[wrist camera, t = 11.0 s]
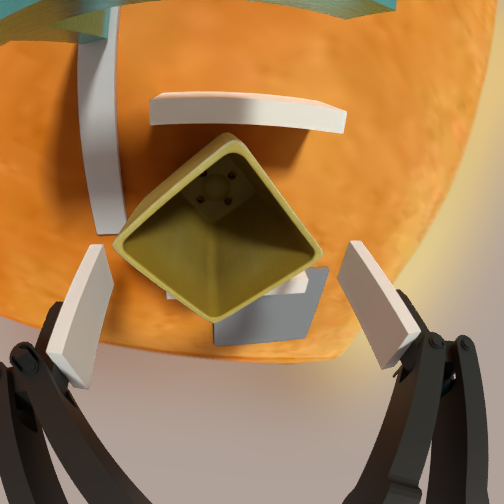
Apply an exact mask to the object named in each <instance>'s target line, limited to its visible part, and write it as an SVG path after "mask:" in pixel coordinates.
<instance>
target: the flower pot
mask: <svg viewBox="0 0 504 504" xmlns="http://www.w3.org/2000/svg"><path fill="white" fill-rule="evenodd" d="M205 170H206V172H207V173H206V175H205V176H201V175H200V174H201V173H203V172H204V171H205ZM230 172H234V173H235V177H234V178H229V176H228V174H229V173H230ZM198 196H202V197H203V198H204V200H203V201H202V202H199V201H197V197H198ZM226 198H231V199H232V201H231V203H229V204H227V203H225V199H226ZM112 246H113V248H114V249H115V250H116V252H117V253H118V254H119V255H120V256H121V257H123V258H124V259H125V260H126V261H128V262H129V263H130V264H131V265H132V266H133V267H135V268H136V269H137V270H138V271H140V272H141V273H142V274H144V275H145V276H146V277H148V278H149V279H150V280H151V281H153V282H154V283H155V284H157V285H158V286H159V287H160V288H162V289H163V290H165V291H166V292H167V293H169V294H170V295H172V296H173V297H174V298H176V299H177V300H178V301H180V302H181V303H182V304H184V305H185V306H187V307H188V308H189V309H191V310H192V311H193V312H195V313H196V314H198V315H199V316H201V317H202V318H204V319H206V320H208V321H210V322H212V323H217V322H219V321H221V320H223V319H225V318H227V317H229V316H230V315H232V314H234V313H235V312H237V311H239V310H240V309H242V308H243V307H245V306H247V305H248V304H250V303H252V302H253V301H255V300H257V299H258V298H260V297H262V296H263V295H265V294H266V293H268V292H270V291H271V290H273V289H275V288H276V287H278V286H280V285H281V284H283V283H285V282H286V281H288V280H290V279H291V278H293V277H295V276H296V275H298V274H300V273H301V272H303V271H304V270H306V269H307V268H309V267H311V266H312V265H313V264H315V263H316V262H317V261H318V260H319V259H320V258H321V257H322V256H323V250H322V249H321V247H320V246H319V245H318V243H317V242H316V241H315V239H314V238H313V237H312V235H311V234H310V233H309V231H308V230H307V229H306V227H305V226H304V225H303V223H302V222H301V221H300V220H299V218H298V217H297V215H296V214H295V213H294V211H293V210H292V209H291V207H290V206H289V204H288V203H287V202H286V200H285V199H284V198H283V196H282V195H281V193H280V192H279V191H278V189H277V188H276V186H275V185H274V184H273V182H272V181H271V179H270V178H269V177H268V175H267V174H266V173H265V171H264V170H263V169H262V167H261V166H260V165H259V163H258V162H257V160H256V159H255V158H254V156H253V155H252V154H251V152H250V151H249V149H248V148H247V147H246V145H245V144H244V143H243V142H242V141H240V140H239V139H238V138H237V137H236V136H235V135H233V134H232V133H229V132H225V133H222V134H220V135H219V136H218V137H216V138H215V139H214V140H212V141H211V142H210V143H209V144H207V145H206V146H205V147H204V148H202V149H201V150H200V151H199V152H198V153H196V154H195V155H194V156H193V157H191V158H190V159H189V160H188V161H187V162H185V163H184V164H183V165H182V166H181V167H180V168H178V169H177V170H176V171H175V172H174V173H172V174H171V175H170V176H169V177H168V178H167V179H165V180H164V181H163V182H162V183H161V184H160V185H158V186H157V187H156V188H155V189H154V190H153V191H151V192H150V193H149V194H148V195H147V196H146V197H145V198H144V199H143V200H142V201H141V202H140V203H139V204H138V206H137V207H136V209H135V210H134V211H133V213H132V214H131V216H130V217H129V219H128V220H127V221H126V223H125V225H124V226H123V227H122V229H121V231H120V232H119V234H118V235H117V237H116V238H115V240H114V242H113V244H112Z"/></svg>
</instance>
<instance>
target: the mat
mask: <svg viewBox="0 0 504 504" xmlns="http://www.w3.org/2000/svg"><path fill="white" fill-rule="evenodd" d="M304 271H305V273H306V275H307V277H308V284H307V287H306V291H305V293H294V294H279V295H263V296H262V297H260V298H258V299H257V300H255V301H253V302H252V303H250V304H248V305H247V306H245V307H243V308H242V309H240V310H239V311H237V312H235V313H234V314H232V315H230V316H229V317H227V318H225V319H223V320H221V321H219V322H217V323H214V344H215V346H229V345H244V344H256V343H268V342H278V341H287V340H296V339H304V338H306V335H307V333H308V330H309V328H310V325H311V322H312V319H313V317H314V314H315V311H316V308H317V306H318V303H319V300H320V297H321V294H322V291H323V288H324V285H325V282H326V279H327V276H328V273H329V268H328V267H312V268H307V269H306V270H304Z"/></svg>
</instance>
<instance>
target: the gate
mask: <svg viewBox="0 0 504 504" xmlns="http://www.w3.org/2000/svg"><path fill="white" fill-rule="evenodd" d="M149 1H159V0H0V46H1V45H3V44H5V43H7V42H9V41H54V42H67V43H77V44H85V43H89V42H94V41H98V40H103V39H108V29H109V18H110V9H111V7H116V6H122V5H128V4H134V3H141V2H149ZM248 1H258V2H266V3H273V4H280V5H286V6H292V7H297V8H302V9H307V10H311V11H315V12H320V13H324V14H328V15H331V16H335V17H338V18H342V19H345V20H346V19H350V18H355V17H360V16H365V15H370V14H376V13H382V12H389V11H396V1H397V0H248Z"/></svg>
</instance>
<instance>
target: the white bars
mask: <svg viewBox="0 0 504 504" xmlns="http://www.w3.org/2000/svg"><path fill="white" fill-rule="evenodd" d="M120 8H121V6H116V7H111V9H110V18H109V29H108V39H103V40H98V41H94V42H89V43H85V44H78V63H77V86H78V111H79V125H80V136H81V145H82V154H83V161H84V168H85V175H86V181H87V187H88V193H89V198H90V203H91V208H92V213H93V217H94V222H95V226H96V231H97V235H98V234H119V232H120V231H121V229H122V227H123V226H124V225H125V223H126V221H127V220H128V219H127V213H126V206H125V199H124V192H123V184H122V176H121V166H120V156H119V144H118V128H117V104H116V65H117V42H118V28H119V17H120ZM346 116H347V111H344V110H342V109H339V108H336V107H334V106H331V105H328V104H325V103H323V102H320V101H316V100H309V99H302V98H295V97H287V96H278V95H267V94H255V93H238V92H171V93H161V94H160V95H158V96H156V97H154V98H152V99H150V125H164V124H191V123H224V124H253V125H269V126H282V127H293V128H302V129H311V130H319V131H326V132H333V133H340V134H343V132H344V127H345V121H346ZM307 284H308V277H307V275H306V273H305V271H303V272H301V273H300V274H298V275H296V276H295V277H293V278H291V279H290V280H288V281H286V282H285V283H283V284H281V285H280V286H278V287H276V288H275V289H273V290H271V291H270V292H268V293H266V294H265V295H279V294H294V293H305V291H306V287H307ZM166 295H167V299H176V298H174V297H173V296H172V295H170V294H169V293H167V292H166Z"/></svg>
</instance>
